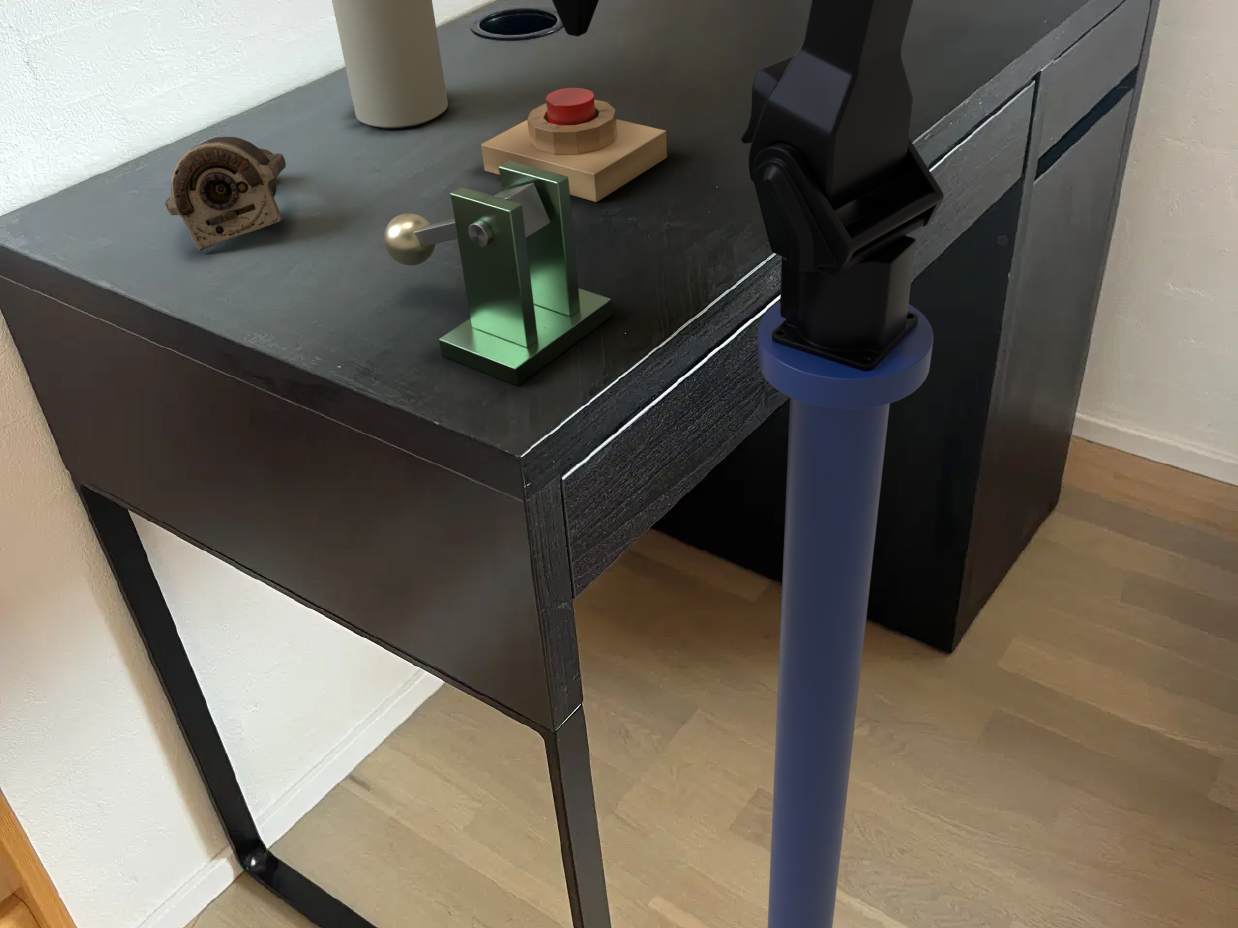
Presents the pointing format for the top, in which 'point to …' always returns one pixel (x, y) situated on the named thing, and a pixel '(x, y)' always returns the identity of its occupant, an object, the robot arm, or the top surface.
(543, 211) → the lever
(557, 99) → the button
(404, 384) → the top surface
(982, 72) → the top surface
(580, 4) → the robot arm
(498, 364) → the bracket
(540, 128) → the button block
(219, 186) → the mechanical counter
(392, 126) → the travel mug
